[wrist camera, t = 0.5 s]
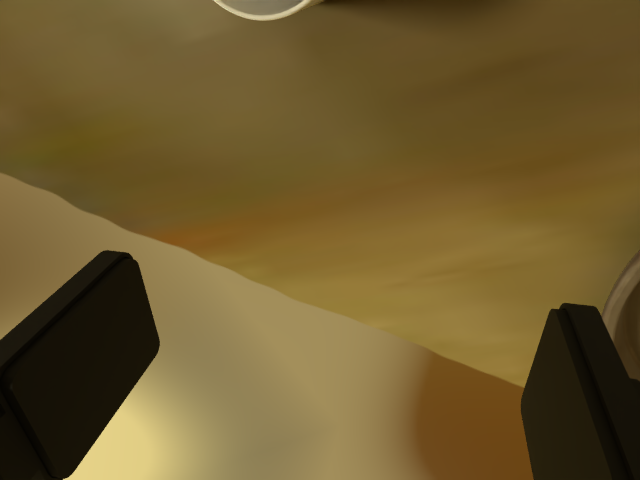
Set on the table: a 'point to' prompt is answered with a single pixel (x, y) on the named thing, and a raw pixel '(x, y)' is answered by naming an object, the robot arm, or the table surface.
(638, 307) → the plant saucer
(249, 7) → the mug
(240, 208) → the table surface
